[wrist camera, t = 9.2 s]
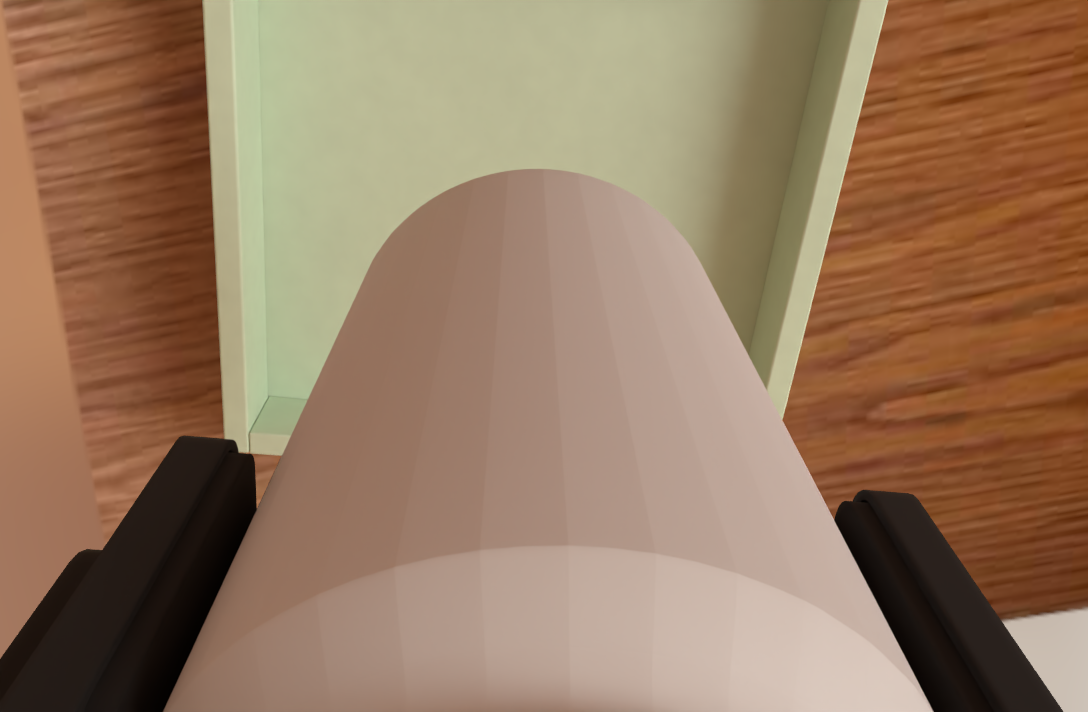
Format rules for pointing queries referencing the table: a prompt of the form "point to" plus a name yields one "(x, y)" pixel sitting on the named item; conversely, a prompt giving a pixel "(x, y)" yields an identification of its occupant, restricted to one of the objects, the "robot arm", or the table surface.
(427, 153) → the tray
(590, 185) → the beverage can
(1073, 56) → the table surface
